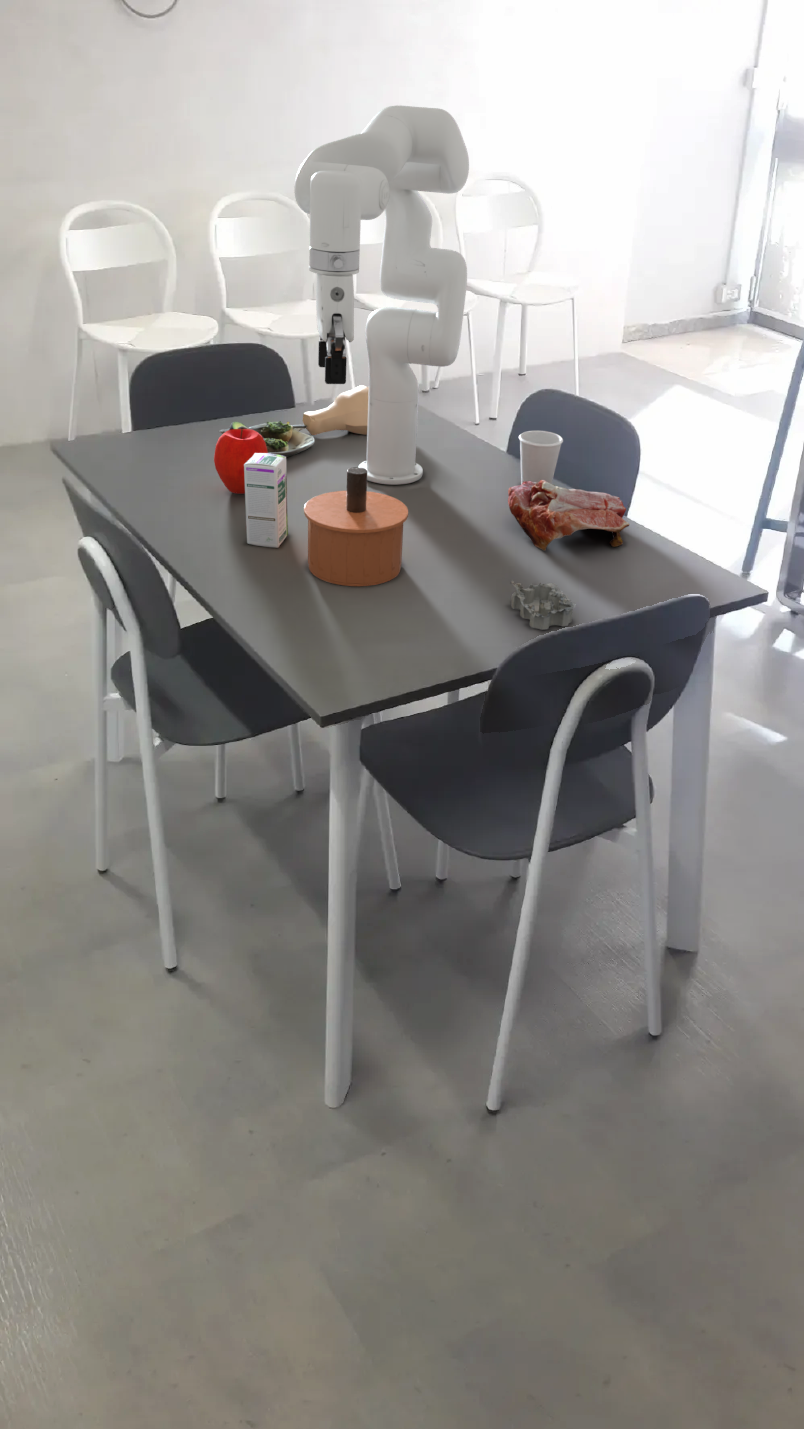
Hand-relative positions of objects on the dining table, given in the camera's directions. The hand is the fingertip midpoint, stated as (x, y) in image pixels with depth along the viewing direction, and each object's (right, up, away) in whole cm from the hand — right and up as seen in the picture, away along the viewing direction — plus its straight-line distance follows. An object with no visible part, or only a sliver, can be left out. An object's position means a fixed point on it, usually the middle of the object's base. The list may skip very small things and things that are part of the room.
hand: (331, 375), depth 197 cm
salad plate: (-17, +1, +60) cm, 62 cm away
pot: (+3, -29, +11) cm, 31 cm away
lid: (+4, -21, +6) cm, 22 cm away
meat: (+40, -20, +28) cm, 53 cm away
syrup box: (-12, -23, +19) cm, 32 cm away
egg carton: (+33, -38, -1) cm, 50 cm away
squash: (0, +7, +70) cm, 70 cm away
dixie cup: (+37, -10, +46) cm, 60 cm away
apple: (-19, -12, +37) cm, 43 cm away
